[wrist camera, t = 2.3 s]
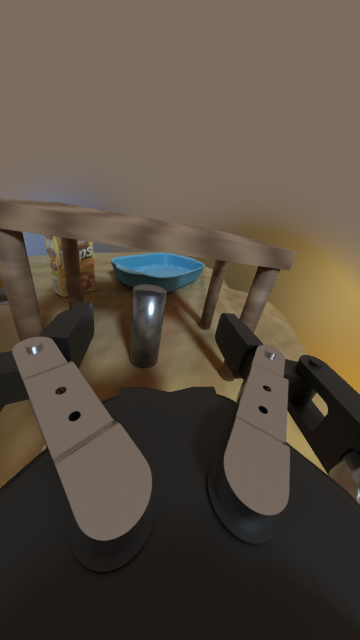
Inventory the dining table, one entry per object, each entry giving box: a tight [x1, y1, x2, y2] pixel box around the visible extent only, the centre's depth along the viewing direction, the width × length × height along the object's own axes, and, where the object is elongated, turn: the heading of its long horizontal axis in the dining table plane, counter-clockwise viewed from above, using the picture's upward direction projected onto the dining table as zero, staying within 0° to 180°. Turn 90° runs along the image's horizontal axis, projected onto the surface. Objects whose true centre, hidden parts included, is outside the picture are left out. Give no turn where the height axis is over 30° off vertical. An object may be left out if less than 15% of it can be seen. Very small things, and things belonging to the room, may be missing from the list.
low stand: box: [0, 198, 297, 381], centre depth 30 cm, size 30×18×20 cm, turn 98°
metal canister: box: [130, 284, 167, 368], centre depth 28 cm, size 4×4×12 cm
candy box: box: [45, 235, 95, 297], centre depth 45 cm, size 9×4×15 cm, turn 147°
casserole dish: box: [111, 253, 205, 293], centre depth 67 cm, size 37×22×7 cm, turn 149°
